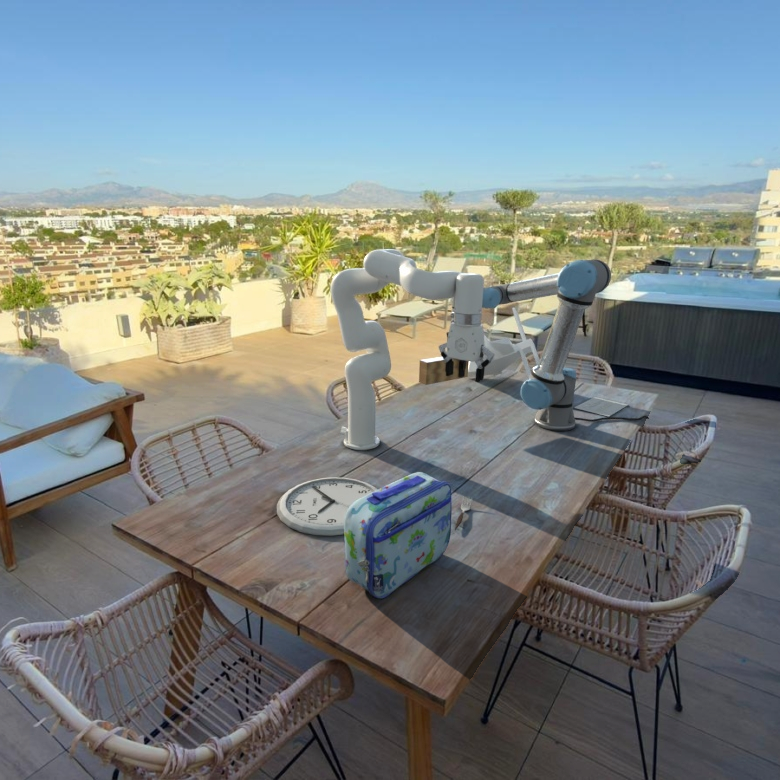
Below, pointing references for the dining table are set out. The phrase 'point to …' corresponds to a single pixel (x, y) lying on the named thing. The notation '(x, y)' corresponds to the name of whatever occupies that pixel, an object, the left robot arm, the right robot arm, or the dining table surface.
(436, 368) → the bar
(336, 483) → the wall clock
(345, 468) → the dining table surface
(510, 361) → the white plastic object
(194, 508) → the dining table surface
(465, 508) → the fork
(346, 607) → the dining table surface
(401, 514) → the lunch box
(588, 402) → the invitation card
